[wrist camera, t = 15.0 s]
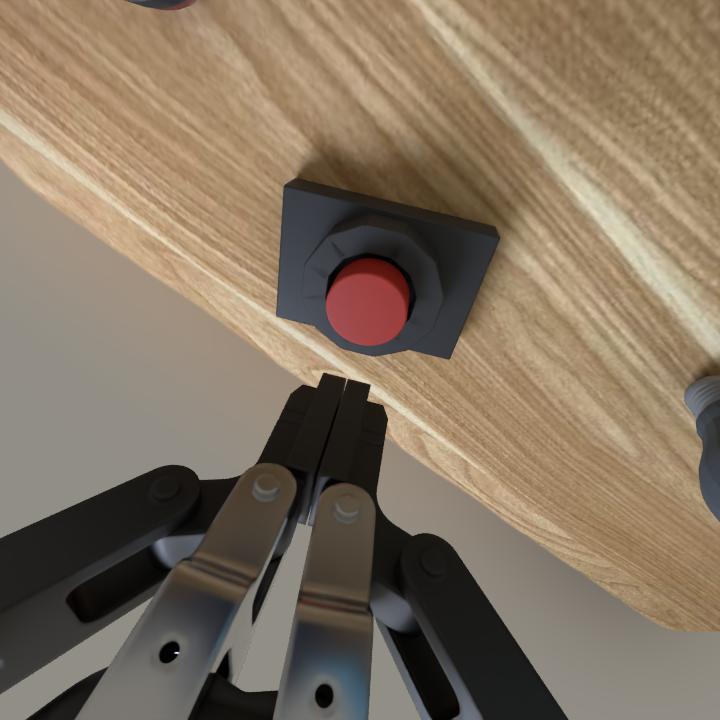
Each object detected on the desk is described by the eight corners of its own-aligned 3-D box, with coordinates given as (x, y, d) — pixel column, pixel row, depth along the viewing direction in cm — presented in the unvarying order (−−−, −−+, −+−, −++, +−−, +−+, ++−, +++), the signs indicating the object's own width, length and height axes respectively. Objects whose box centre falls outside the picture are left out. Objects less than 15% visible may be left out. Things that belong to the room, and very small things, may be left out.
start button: (329, 317, 19) (320, 335, 18) (340, 248, 17) (331, 263, 15) (399, 334, 19) (395, 354, 17) (419, 268, 17) (417, 284, 15)
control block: (285, 303, 22) (263, 333, 20) (294, 177, 18) (269, 193, 16) (448, 344, 22) (450, 380, 19) (496, 226, 18) (507, 251, 15)
